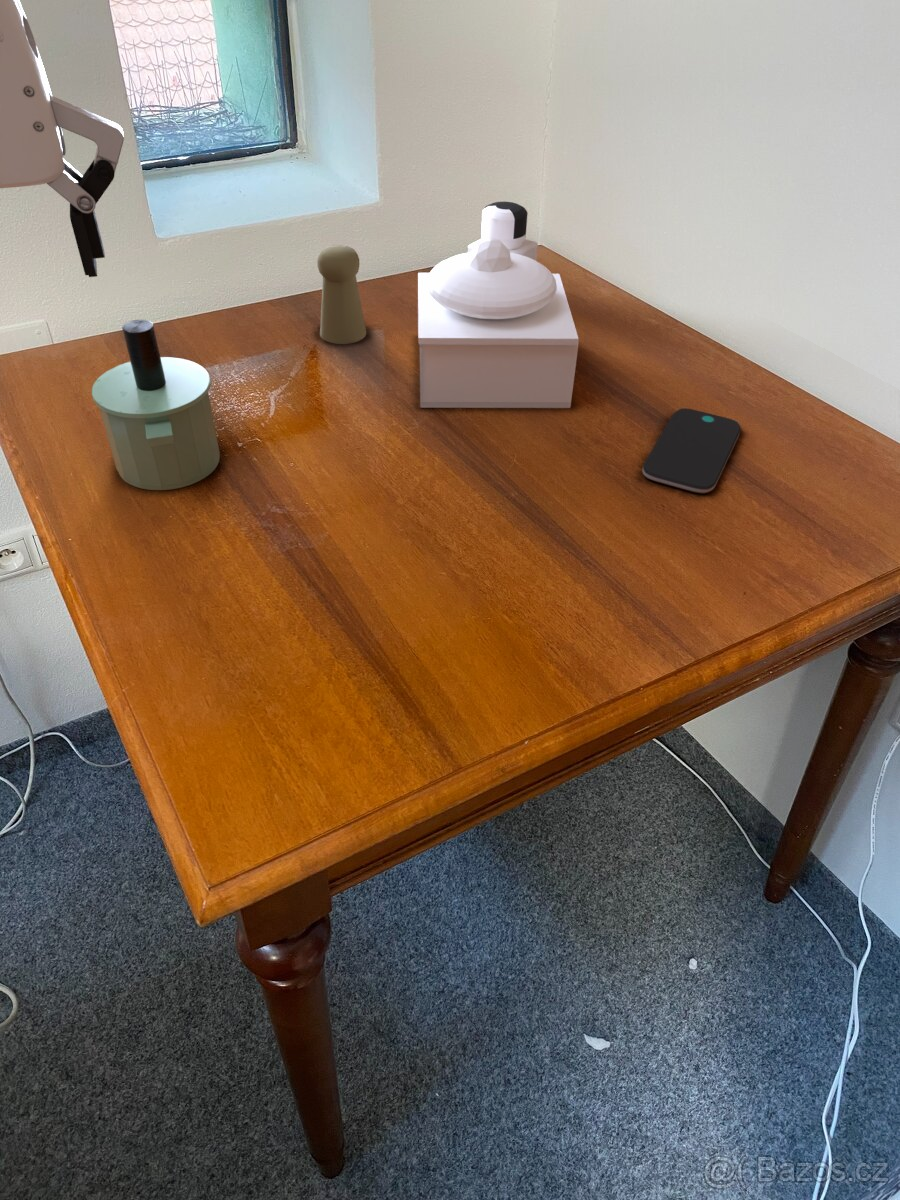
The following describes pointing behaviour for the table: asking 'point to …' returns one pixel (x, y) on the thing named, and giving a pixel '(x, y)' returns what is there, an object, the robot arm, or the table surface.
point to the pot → (164, 447)
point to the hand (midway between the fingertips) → (14, 276)
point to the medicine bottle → (507, 228)
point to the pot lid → (149, 379)
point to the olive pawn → (340, 295)
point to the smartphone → (692, 451)
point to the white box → (494, 333)
